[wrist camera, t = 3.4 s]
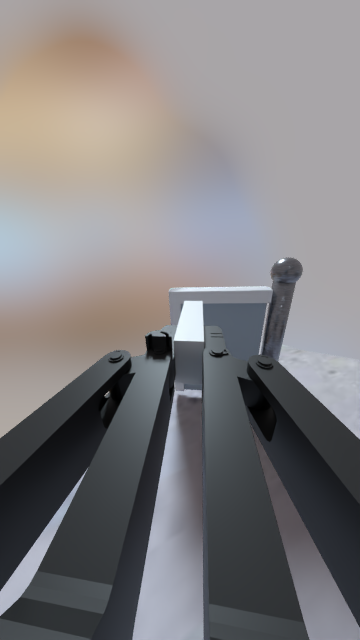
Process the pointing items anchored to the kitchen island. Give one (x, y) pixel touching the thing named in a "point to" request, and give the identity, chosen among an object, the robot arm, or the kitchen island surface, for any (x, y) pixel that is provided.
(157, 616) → the kitchen island surface
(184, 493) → the kitchen island surface
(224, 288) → the panel
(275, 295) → the metal joystick
